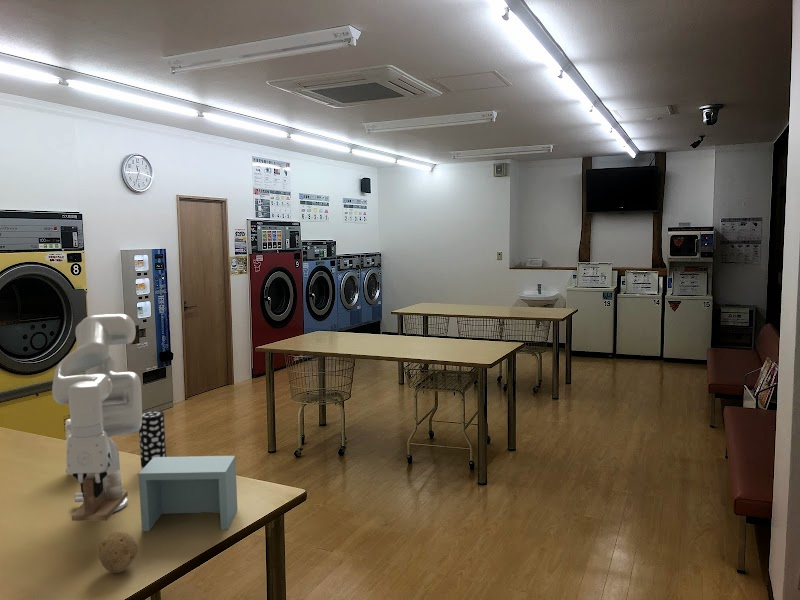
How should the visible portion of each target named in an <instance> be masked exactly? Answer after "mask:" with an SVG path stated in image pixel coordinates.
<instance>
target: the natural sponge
mask: <svg viewBox="0 0 800 600" xmlns="http://www.w3.org/2000/svg"><path fill="white" fill-rule="evenodd" d="M138 547H139V546H138V544H137V541H136V540H135V538H134V537H133V536H132V535H130V534H129V533H128V532H127V533H126V532H125V531H116V532H113V533H112V532H111V533H110V534H109V535H107V536H105V538H103V539H102V540H101V542H99V545H98V548H97V557H98V560H99V561H100V564H101V565H102V567H103V568H104V569H105V570H107V571H109V572H111V573H113V574H121V573H123V571H126V570H127V569H129V567H130V565H131V563H132V562H133V560H134V559H136V557H137V555H138V550H139V549H138Z"/></svg>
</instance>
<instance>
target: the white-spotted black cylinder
mask: <svg viewBox="0 0 800 600" xmlns="http://www.w3.org/2000/svg"><path fill="white" fill-rule="evenodd" d="M138 436H139V451H140V454H139V455H140V466H141V468H140V471H141V470H142V469H143V468H144V467H145V466H146V465H147V464H148V463H149V462H150V461H151V460H152V458H153V457H167V449H166V448H167V446H166V444H167V443H166V427H165V413H164V411H162V410H148V411H144V412H143V411H142V426H141V429H140V430H139V431H138Z"/></svg>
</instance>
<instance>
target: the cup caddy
mask: <svg viewBox="0 0 800 600" xmlns="http://www.w3.org/2000/svg"><path fill="white" fill-rule="evenodd" d="M82 481H83V494H84V503H83V502H82V504H81V505H80V506H79V507H78V508H77V509H76V510H75V511H74V512H73V513H72V514H71V515H70V517H71V521H72V522H84V521H85V522H86V521H87V522H88V521H89V522H91V521H92V522H93V521H94V522H95V521H96V522H97V521H108V520H109V518H110V517H111V516H112V515H113V513H115V512H114V511H115V510H116V509H117V508H118V507H119V505H120V504H121V503H122V502H123V501H124V500H125V498H126V497H127V498H128V496H129V495H128V490H123V489H122V488H123V487H122V471H121V470H120V471H119V470H115V472H114V473H112V474H109V475H107V476H106V477H105V481H104V479H103V492H102V493H101V494H100V495H99V496H98V497H95V494H94V483H95V473H92V474H88V476H87V477H86V478H84V479H83V480H82ZM105 484H106V491H105Z"/></svg>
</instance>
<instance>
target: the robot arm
mask: <svg viewBox="0 0 800 600" xmlns="http://www.w3.org/2000/svg"><path fill="white" fill-rule="evenodd" d="M136 332H137V331H136V324H135V322H134V320H133V319H132V317H130V315H127V314H124V313H116V314H115V313H111V314H110V313H109V314H95V315H94V314H93V315H90V316H89V315H88V316H87V317H85V318H83V319H82V320H81V321H80V322H79V323H78V324H77V325H76V327H75V337H76V338H75V339H76V349H74V350H73V351H71V352H70V353H69V354H67V355H66V356H65V357H64V358H62V360H61V361H59V363H58V364H57V366H56V368H55V370H54V373H53V374H54V376H53V380H52V385H51V386H52V388H51V390H52V397H53V400H54V401H55V402H56V403H57V404H60V405H68V407H69V417H70V418H69V419H70V421H71V424H70V425H67V426H66V430H70V431H71V435H69V436H68V442H67V444H66V457H65V459H66V460H65V461H66V468H65V471H64V472H65V473H66V474H67V475H71V476H73V477H74V478H75V479H76V480H77V482H78V484H80V492H76V493H74V502H75V503H80V502H81V503H82V504H83V503H84V494H83V481H82V480H83V479H84V478H86V477H87V476H88V474H92V473H95V483H94V494H95V497H98V496H99V495H100V494H101V493H102V492H103V479H104V481H105V477H106V476H107V475H109V474H112V473H114V472H115V470H119V471H121V467H120V466H121V465H120V452H119V451H120V450H119V446H118V445H117V443H116V442H115V441H114V440H113V439H112V438H111V437H115V436H116V437H117V436H126V435H132V434H136V433H139V430H140V429H141V426H142V413H143V403H142V402H143V401H142V400H143V399H142V398H143V397H142V396H143V395H142V394H143V393H142V381H141V379H140V376H139V375H138V374H137V373H136V372H133V371H121V372H120V371H119V372H116V360H115V358H114V357H113V356H112V355H111V354H110V352H109V351H110V346H115V345H116V346H117V345H119V346H120V345H128V344H132V343H133V342H134V341H135V339H136ZM84 371H85V373H84V374H80V373H82V372H84ZM105 491H106V484H105ZM128 502H129V501H128V496H127V497H126V498H125V500H124V501H123V502H122V503H121V504H120V505H119V507H118V508H117V509H116V510H115V511H114V512H113V513H115V512H118V511H120V510H121V509H123V508H125V507H126V506H127V505H128Z"/></svg>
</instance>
